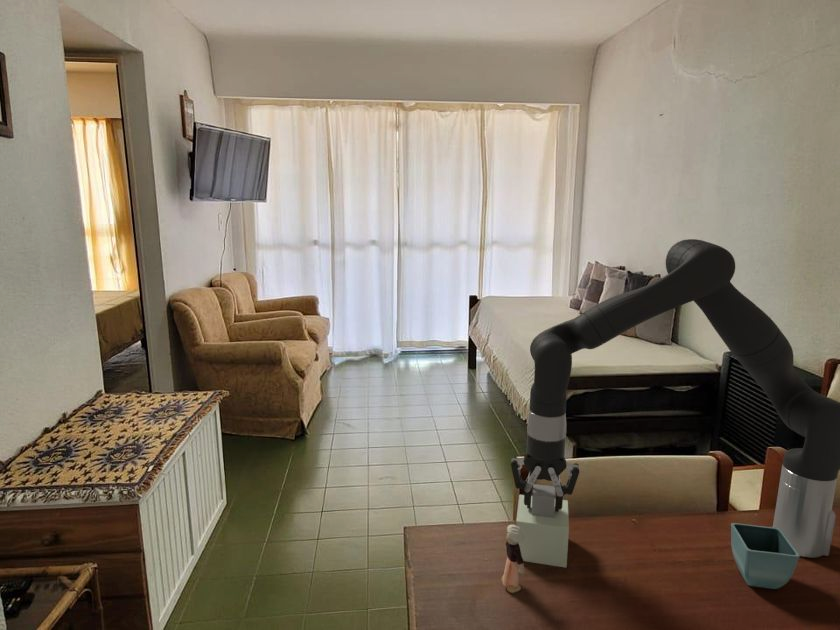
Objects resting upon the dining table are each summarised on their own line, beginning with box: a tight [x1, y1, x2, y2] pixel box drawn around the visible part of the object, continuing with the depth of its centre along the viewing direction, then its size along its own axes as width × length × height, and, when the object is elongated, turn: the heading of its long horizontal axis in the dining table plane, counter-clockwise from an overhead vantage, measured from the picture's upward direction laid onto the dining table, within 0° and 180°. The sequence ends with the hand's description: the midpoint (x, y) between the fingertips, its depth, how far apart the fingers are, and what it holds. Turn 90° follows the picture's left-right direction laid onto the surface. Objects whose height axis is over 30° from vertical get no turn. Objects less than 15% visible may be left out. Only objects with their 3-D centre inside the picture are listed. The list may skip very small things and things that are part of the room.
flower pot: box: [730, 522, 801, 590], centre depth 102 cm, size 9×9×9 cm
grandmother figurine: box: [500, 524, 525, 594], centre depth 100 cm, size 8×4×13 cm, turn 23°
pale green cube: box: [515, 483, 570, 568], centre depth 111 cm, size 10×10×13 cm
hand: (542, 507), depth 110 cm, fingers open, 5 cm apart
